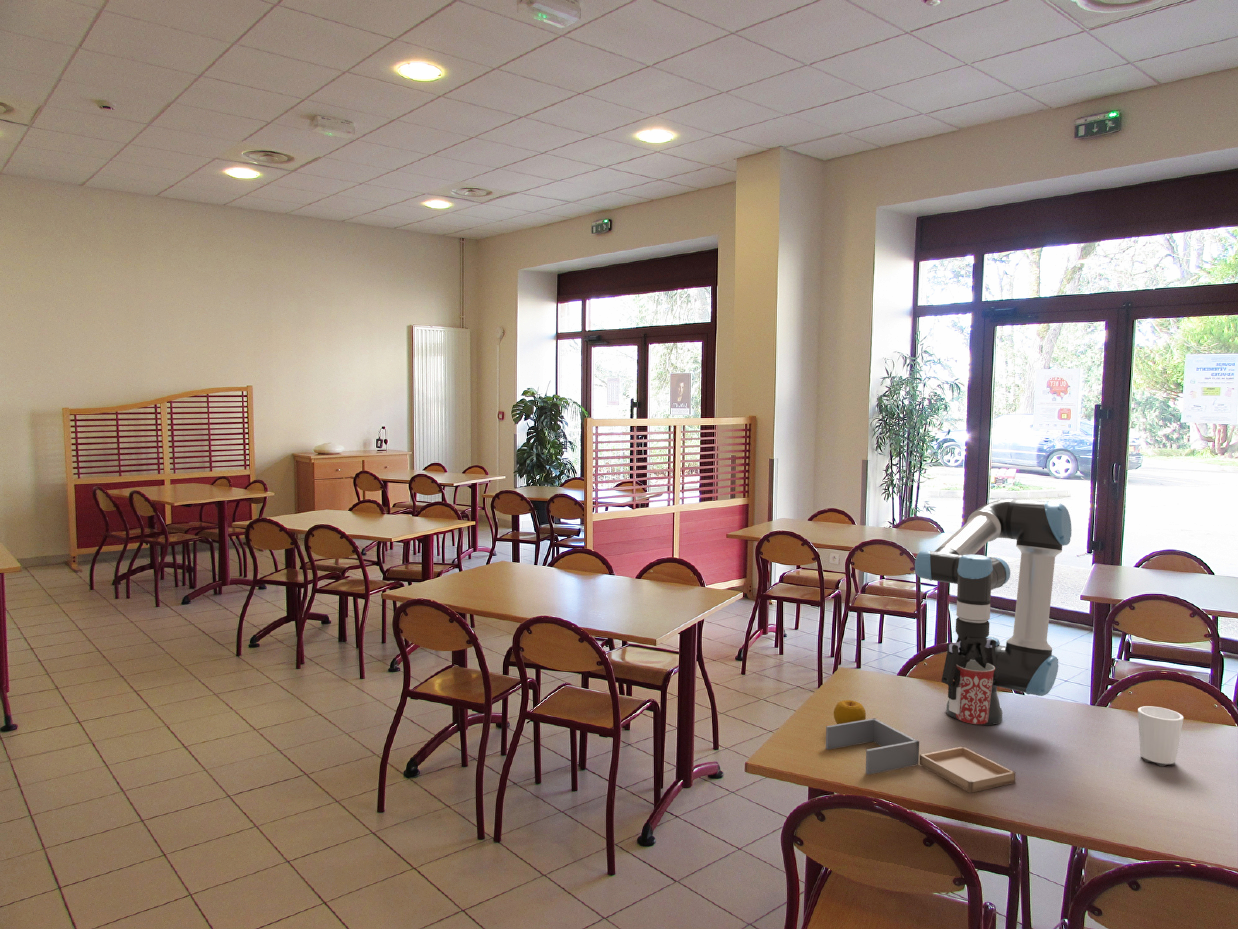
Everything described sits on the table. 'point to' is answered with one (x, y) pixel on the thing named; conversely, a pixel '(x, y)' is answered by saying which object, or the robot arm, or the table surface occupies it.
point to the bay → (894, 743)
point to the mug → (975, 692)
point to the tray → (967, 769)
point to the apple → (849, 712)
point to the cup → (1159, 734)
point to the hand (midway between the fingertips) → (968, 709)
